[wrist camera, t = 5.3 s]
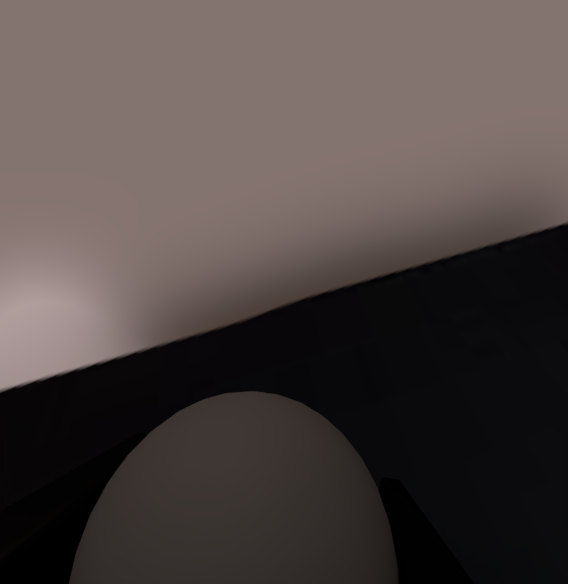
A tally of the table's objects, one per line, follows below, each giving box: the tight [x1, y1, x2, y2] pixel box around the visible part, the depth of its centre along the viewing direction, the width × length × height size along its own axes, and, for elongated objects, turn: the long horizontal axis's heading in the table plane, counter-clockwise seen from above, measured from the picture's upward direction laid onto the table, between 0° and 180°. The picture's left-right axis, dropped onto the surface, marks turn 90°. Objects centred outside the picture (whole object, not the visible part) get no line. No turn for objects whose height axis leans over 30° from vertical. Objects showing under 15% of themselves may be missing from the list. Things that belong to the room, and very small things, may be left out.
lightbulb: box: [69, 391, 399, 584], centre depth 8 cm, size 6×6×11 cm
